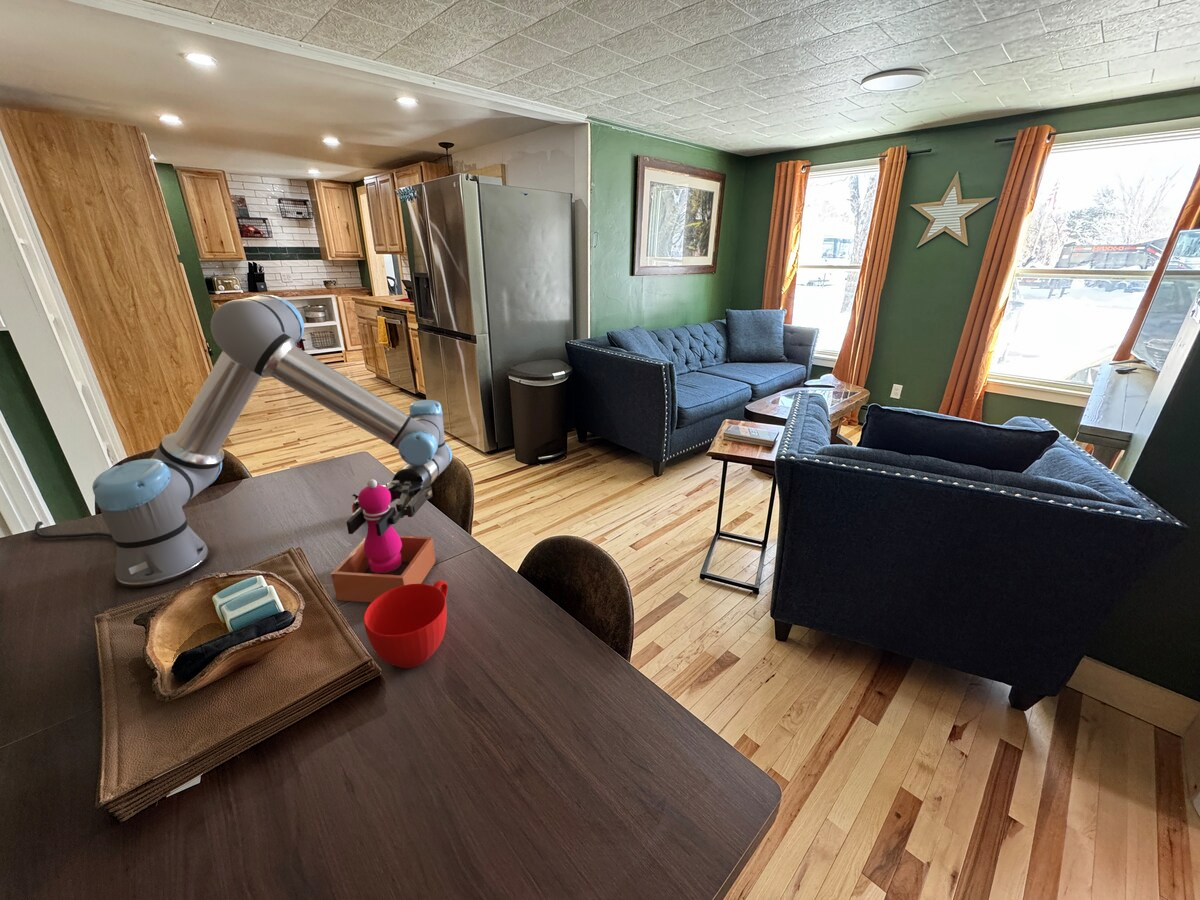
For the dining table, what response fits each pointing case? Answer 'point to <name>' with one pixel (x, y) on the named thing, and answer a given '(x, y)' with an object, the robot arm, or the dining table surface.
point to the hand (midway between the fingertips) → (363, 528)
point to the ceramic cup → (407, 623)
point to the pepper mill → (376, 548)
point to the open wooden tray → (368, 587)
